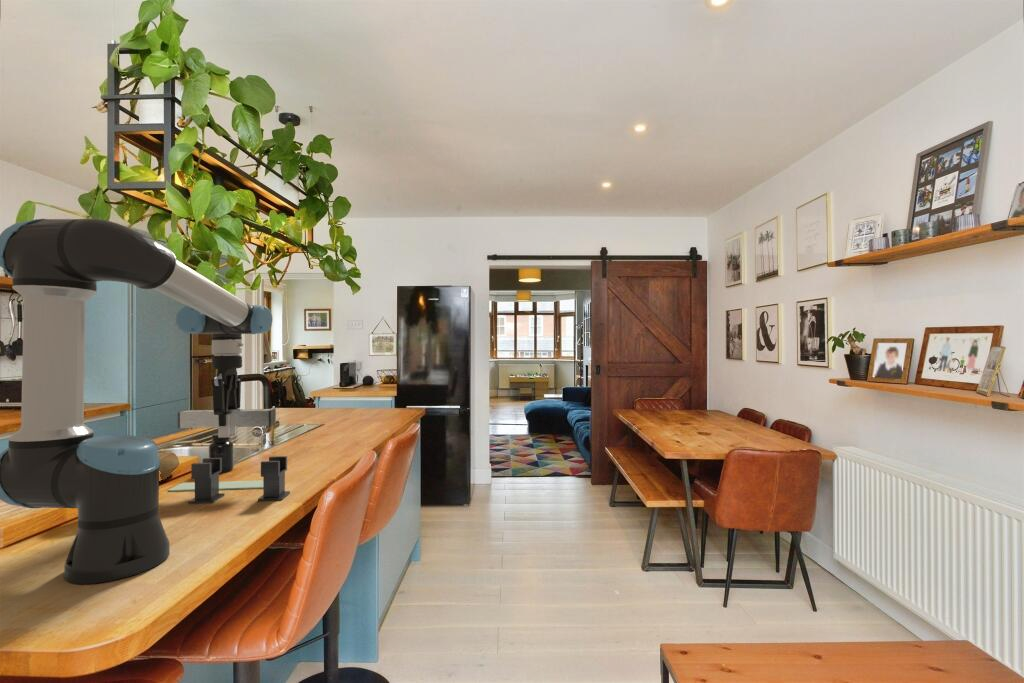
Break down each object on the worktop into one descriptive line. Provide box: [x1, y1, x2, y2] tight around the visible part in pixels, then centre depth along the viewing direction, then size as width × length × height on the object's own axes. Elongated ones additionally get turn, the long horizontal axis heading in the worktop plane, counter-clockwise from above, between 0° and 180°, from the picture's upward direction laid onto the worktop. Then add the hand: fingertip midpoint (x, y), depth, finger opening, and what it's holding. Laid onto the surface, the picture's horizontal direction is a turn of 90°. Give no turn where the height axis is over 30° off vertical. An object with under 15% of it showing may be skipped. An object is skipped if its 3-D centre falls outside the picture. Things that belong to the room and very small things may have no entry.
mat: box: [167, 479, 263, 493], centre depth 139 cm, size 7×28×1 cm, turn 96°
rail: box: [177, 408, 277, 429], centre depth 139 cm, size 4×25×4 cm, turn 96°
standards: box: [188, 455, 291, 504], centre depth 128 cm, size 6×23×10 cm, turn 96°
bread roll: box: [158, 451, 180, 481], centre depth 146 cm, size 10×15×8 cm, turn 19°
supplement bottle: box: [208, 432, 234, 474], centre depth 155 cm, size 7×7×12 cm
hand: (227, 435), depth 139 cm, fingers closed on rail, 3 cm apart
